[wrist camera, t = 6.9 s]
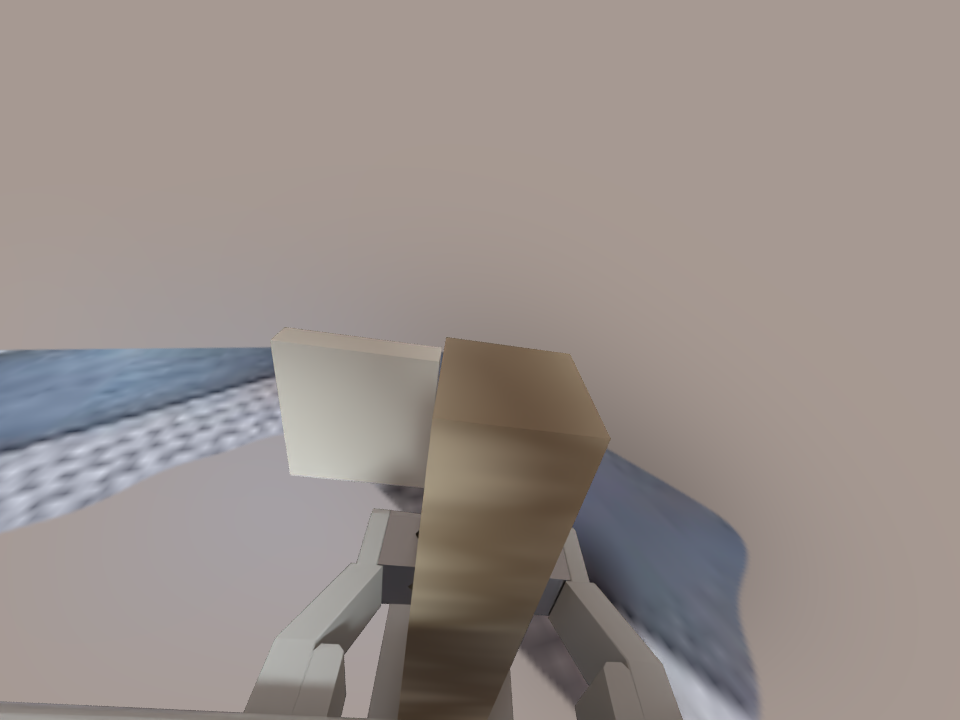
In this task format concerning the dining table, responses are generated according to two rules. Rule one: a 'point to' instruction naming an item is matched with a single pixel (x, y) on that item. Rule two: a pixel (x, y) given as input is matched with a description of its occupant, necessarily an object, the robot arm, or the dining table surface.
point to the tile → (355, 406)
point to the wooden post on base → (487, 528)
